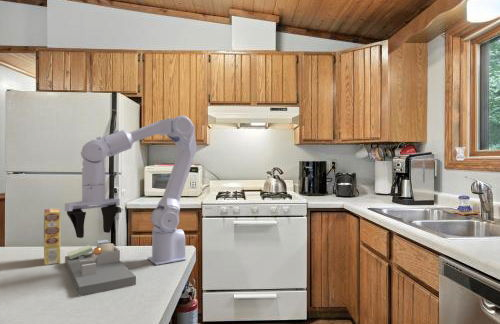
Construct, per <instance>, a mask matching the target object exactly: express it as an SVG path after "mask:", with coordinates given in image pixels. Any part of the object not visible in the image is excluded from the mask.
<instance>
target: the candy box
mask: <svg viewBox="0 0 500 324" xmlns="http://www.w3.org/2000/svg"><path fill="white" fill-rule="evenodd" d="M43 212H44V214H43V255H44V256H43V260H44V261H43V262H44V263H43V264H44V266H49V265H54V264H61V236H62V235H61V231H62V230H61V210H60V208H47V209H44V210H43Z"/></svg>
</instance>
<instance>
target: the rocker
mask: <svg viewBox="0 0 500 324" xmlns="http://www.w3.org/2000/svg"><path fill="white" fill-rule="evenodd" d="M93 250H94V249H93V247H92V246H91V245H90V244H88V245H86V246H82V247H80V248H77V249H75V250H71V251H69V252H67V256H69V258H70V259H73V258H76V257H78V256H81V255H84V254H86V253H92V252H93Z"/></svg>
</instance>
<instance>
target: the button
mask: <svg viewBox="0 0 500 324" xmlns="http://www.w3.org/2000/svg"><path fill="white" fill-rule="evenodd" d="M99 247H100V248H101V249H102V252H101V253H103V252H110V251H114V247H115V244H114V243H110V242H109V243H107V244H101V245H99Z"/></svg>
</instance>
